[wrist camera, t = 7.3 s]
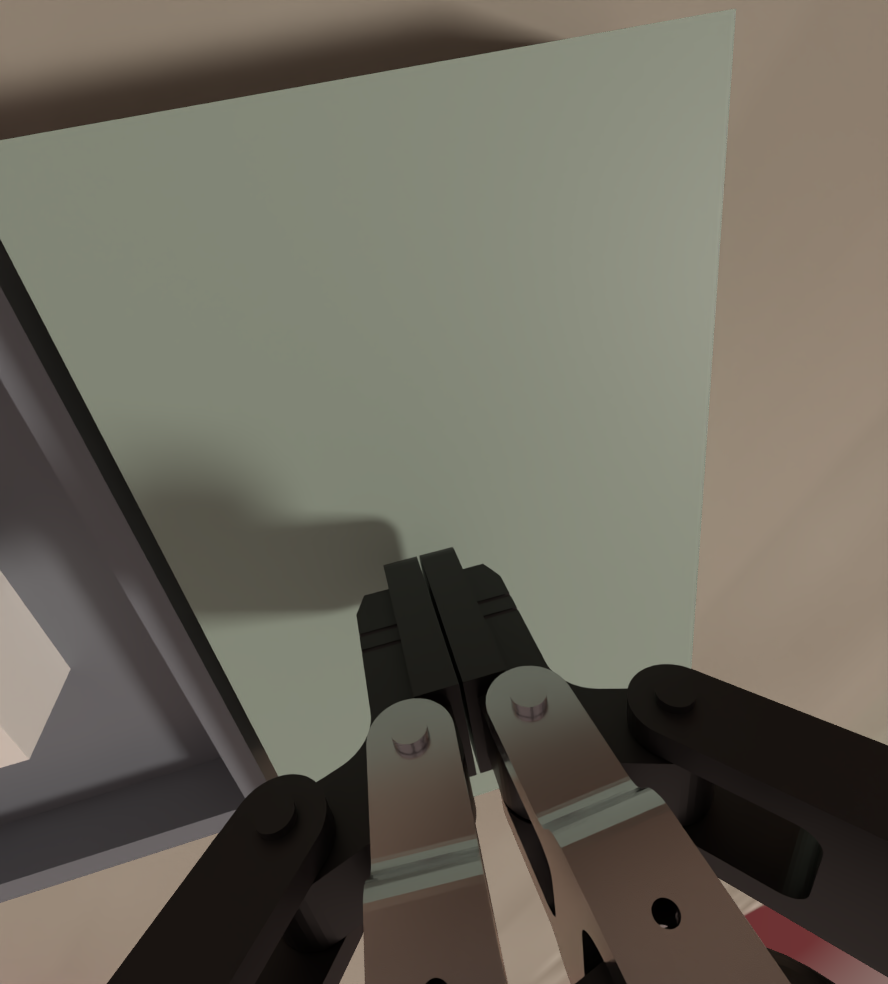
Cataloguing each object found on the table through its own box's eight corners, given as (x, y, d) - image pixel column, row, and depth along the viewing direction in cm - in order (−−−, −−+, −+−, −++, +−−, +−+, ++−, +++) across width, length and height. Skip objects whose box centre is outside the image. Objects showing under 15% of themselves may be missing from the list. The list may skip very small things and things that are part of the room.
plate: (55, 158, 11) (-46, 149, 8) (617, 54, 13) (736, 8, 9) (312, 736, 20) (316, 849, 17) (625, 640, 22) (687, 726, 18)
